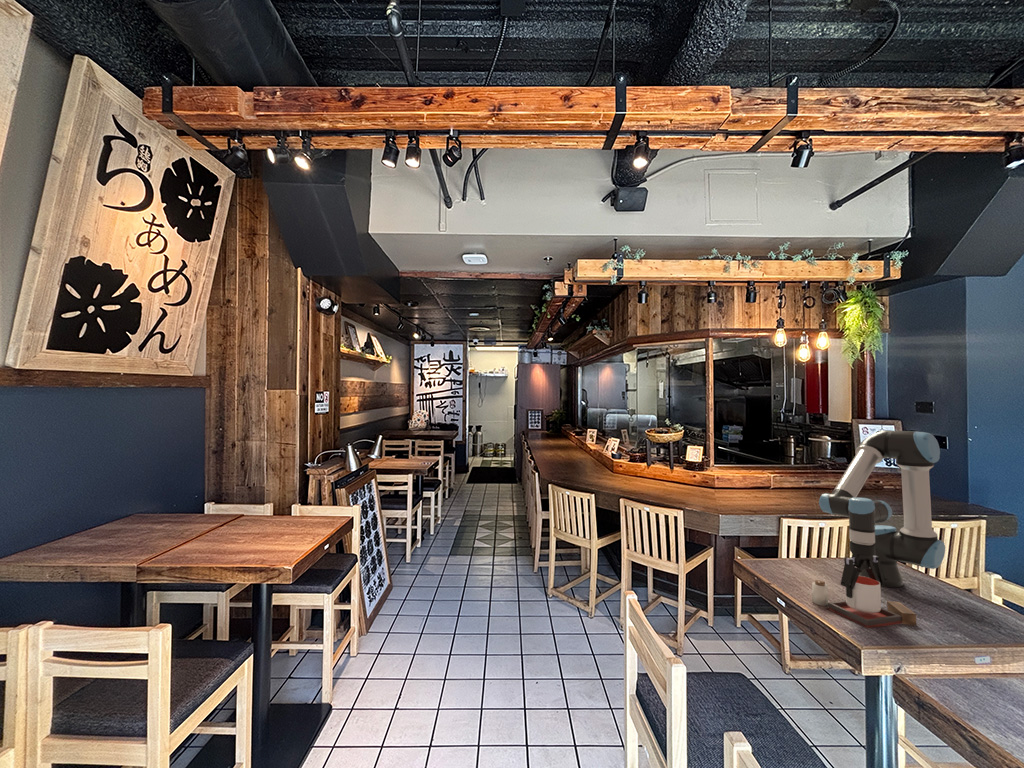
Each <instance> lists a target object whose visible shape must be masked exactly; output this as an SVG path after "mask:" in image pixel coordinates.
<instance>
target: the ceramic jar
mask: <svg viewBox="0 0 1024 768" xmlns="http://www.w3.org/2000/svg"><path fill="white" fill-rule="evenodd" d="M811 591H812V593H811V596H812V603H813V604H815V605H818V606H821V607H828V602H829V585H828V584H827V583H826V582H825V581H823V580H818V579H815V580H814V581H812V583H811Z"/></svg>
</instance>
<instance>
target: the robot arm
mask: <svg viewBox="0 0 1024 768" xmlns="http://www.w3.org/2000/svg"><path fill="white" fill-rule="evenodd" d="M940 456H941V450H940V445H939V441H938V439H936V437H935V436H934V435H933V434H932V433H929V432H924V431H917V430H916V431H911V430H889V429H887V430H880V431H877V432H875V433H873V434H871V435H869V436H866V438H865V439H863V440H862V441H861V442H859V444H858V446H857V447H856V449H855V456H854V457H853V459H852V460H851V462H850V463H849V465H848V466H847V468H846V469H845V471H844V473H843V475H841V478H840V479H839V481H838V482H837V484H836V486H835V488H834V489H833V490H832V492H831V493H822V494H821V495H820V497H819V500H818V504H819V508H820V510H821V511H822V512H823V513H826V514H827V513H828V514H831V515H835V516H836V515H837V516H842V517H846V518H848V529H849V532H848V533H849V534H848V535H849V536H848V537H849V551H850V553H851V557H844V565H843V571H842V574H841V580H840V585H841V586H843V587H845V597H846V596H847V605H848V606H850V607H853V608H856V589H854V586H855V583H856V581H857V579H858V576H864V577H868V578H871V579H874V580H877V581H878V582H880V586H881V588H882V587H886V588H901V587H903V586H904V579H903V577H902V575H901V572H900V569H899V566H898V562H901V563H906V564H909V565H913V566H916V567H920V568H926V569H932V570H934V569H938V568H939V567H940V566H941V564H942V562H943V560H944V558H945V554H946V545H945V543H944V541H943V540H941V539H939V537H938V533H937V532H936V531H934V529H933V522H932V505H931V503H932V502H931V487H930V486H931V484H930V470H931V469H932V468H934V466H935V463H937V462H939V460H940V458H941V457H940ZM884 459H892V460H893V459H895V463H896V465H897V466H898V467H899V468H900V469H901V472H900V473H901V488H902V489H901V490H902V511H903V527H901V528H900V529H899V531H898V530H897V528H896V527H894V526H893V525H883V524H882V525H881V524H877V523H884V522H885V521H888V520H889V519H891V517H892V516H893V509H892V507H891V506H890V504H889V503H887V502H886V501H885V500H880V499H879V500H877V499H875V500H872V499H871V498H867V497H858V495H859V493H860V491H861V490H862V488H863V487H864V485H865V484H866V481H867V480H868V478H869V476H870V475H871V474H872V472H873V470H874V469H875V467H876V465H877V464H879V463H881V462H883V460H884ZM850 584H851V585H850Z"/></svg>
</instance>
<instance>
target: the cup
mask: <svg viewBox="0 0 1024 768" xmlns="http://www.w3.org/2000/svg"><path fill="white" fill-rule="evenodd" d="M850 585H851V584H850ZM881 588H882V587H881V586H880V582H878V581H877V580H874V579H871V578H868V577H864V576H858V579H857V581H856V583H855V586H854V589H856V608H853V607H851V608H853V609H855V610H857V611H860V612H864V613H878V612H879V611H880V610H881V608H882V599H881V598H882V594H881V593H882V591H881V590H882V589H881ZM845 600H846V603H847V596H846V595H845ZM849 607H850V606H849Z"/></svg>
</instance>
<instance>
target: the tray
mask: <svg viewBox="0 0 1024 768" xmlns="http://www.w3.org/2000/svg"><path fill="white" fill-rule="evenodd" d="M827 610H828V611H831V612H833V613H836V614H837V615H839V616H841V617H843V618H845V619H847V620H850V621H852V622H854V623H856V624H858V625H860V626H862V627H864V628H866V629H870V628H871V629H872V628H877V627H885V626H886V627H887V626H891V625H892V626H893V625H898V624H902V619H901V616H900V615H897V614H895V613H893V612H890V611H888V610H887V608H886V609H885V608H883V607H881V610H880V611H879V612H878V613H864V612H860V611H857V610H855V609H853V608H851V607H849V606H848V605H847V603H846V599H845V600H837V601H831V602H829V601H828V606H827Z"/></svg>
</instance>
